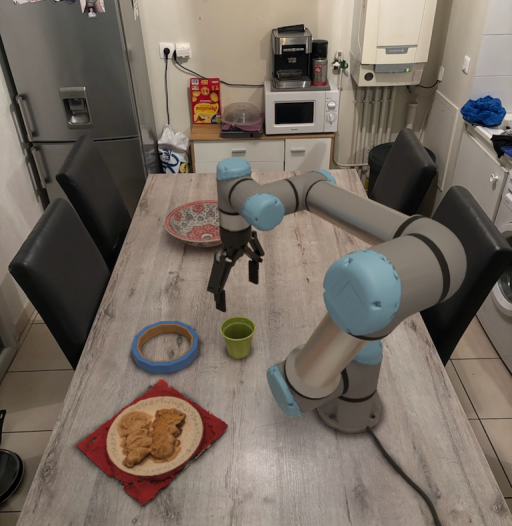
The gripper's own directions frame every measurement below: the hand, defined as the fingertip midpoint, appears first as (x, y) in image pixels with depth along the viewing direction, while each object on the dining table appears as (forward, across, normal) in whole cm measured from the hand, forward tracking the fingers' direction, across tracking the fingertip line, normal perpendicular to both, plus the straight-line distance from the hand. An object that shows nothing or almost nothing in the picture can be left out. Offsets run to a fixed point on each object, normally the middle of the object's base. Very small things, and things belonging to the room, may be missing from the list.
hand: (237, 295), depth 135 cm
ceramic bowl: (+20, -40, -45) cm, 63 cm away
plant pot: (+19, +1, 0) cm, 19 cm away
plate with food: (+19, +34, +1) cm, 39 cm away
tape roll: (+19, +12, -17) cm, 28 cm away
